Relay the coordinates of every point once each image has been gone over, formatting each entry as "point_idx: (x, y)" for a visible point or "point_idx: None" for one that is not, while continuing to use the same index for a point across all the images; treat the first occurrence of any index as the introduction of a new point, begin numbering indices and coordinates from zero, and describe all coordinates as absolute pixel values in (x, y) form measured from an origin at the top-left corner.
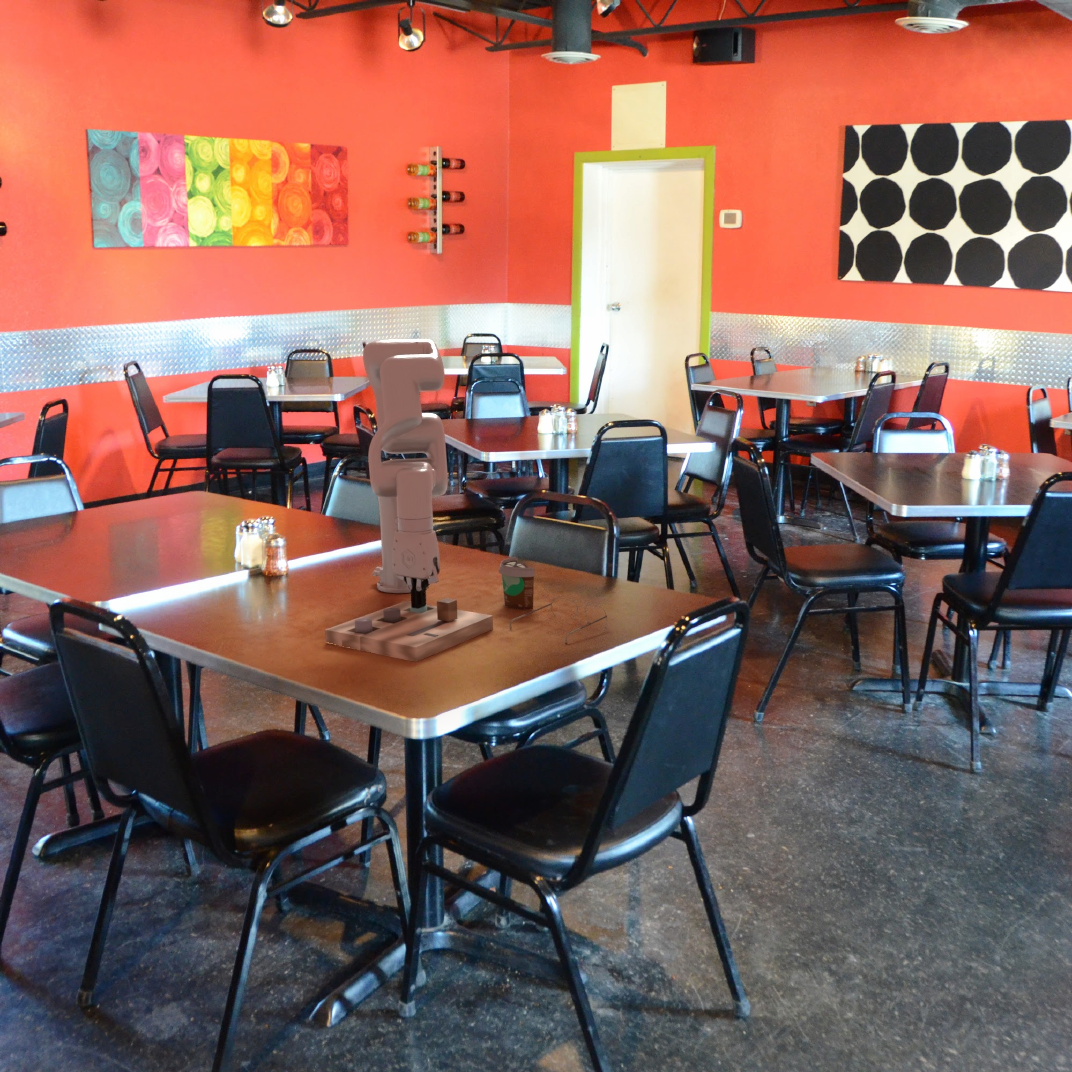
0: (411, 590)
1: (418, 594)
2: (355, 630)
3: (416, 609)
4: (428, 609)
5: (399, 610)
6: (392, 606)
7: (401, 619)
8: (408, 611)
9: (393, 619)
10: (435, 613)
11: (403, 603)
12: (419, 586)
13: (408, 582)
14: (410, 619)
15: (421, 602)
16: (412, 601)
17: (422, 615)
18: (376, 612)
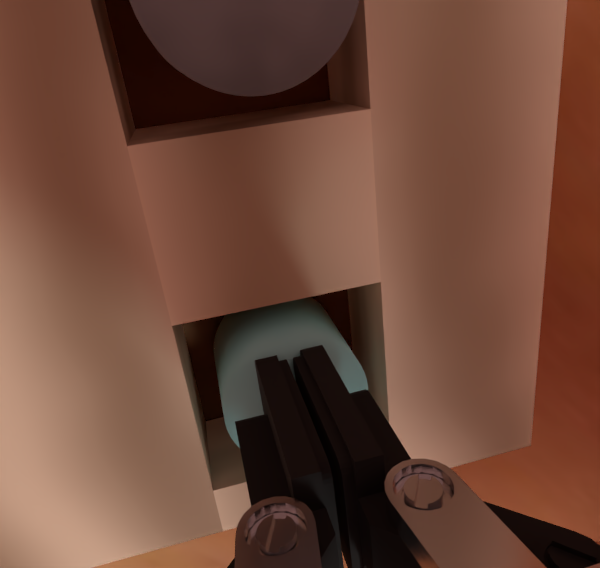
0: (370, 458)
1: (284, 473)
2: None
3: (258, 350)
4: None
5: (146, 26)
6: (527, 297)
7: (227, 126)
8: (314, 294)
9: None
10: (66, 414)
11: (504, 399)
12: (256, 562)
13: (477, 532)
14: (57, 115)
15: (237, 427)
16: (320, 378)
17: (99, 298)
18: (536, 73)
